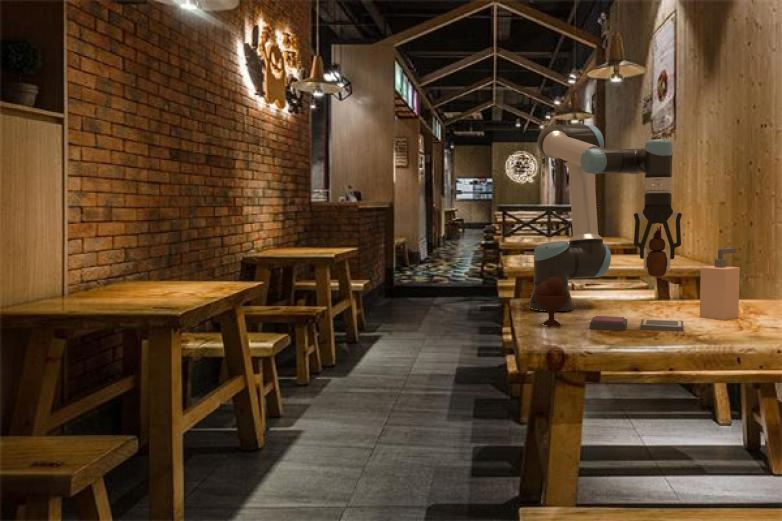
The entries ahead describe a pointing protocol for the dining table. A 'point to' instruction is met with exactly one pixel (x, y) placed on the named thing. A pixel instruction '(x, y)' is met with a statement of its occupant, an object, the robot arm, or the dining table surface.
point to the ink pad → (608, 323)
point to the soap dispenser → (720, 289)
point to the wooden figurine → (657, 255)
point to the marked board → (662, 325)
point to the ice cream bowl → (551, 298)
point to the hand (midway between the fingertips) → (656, 270)
